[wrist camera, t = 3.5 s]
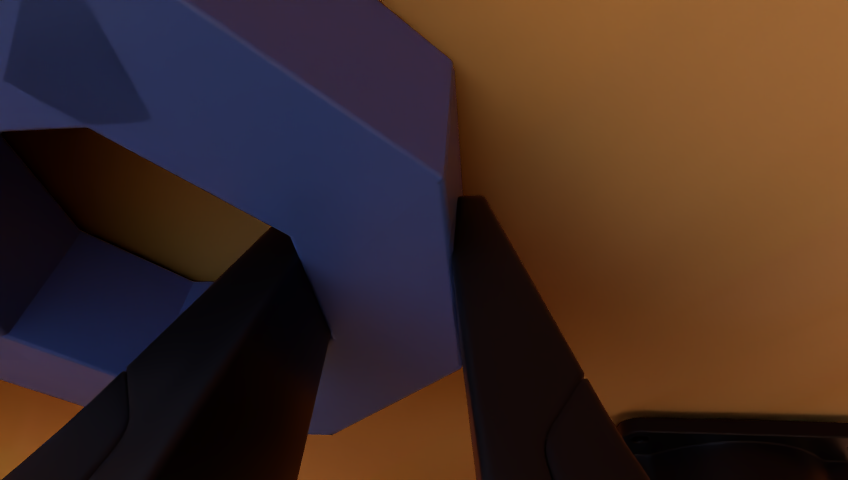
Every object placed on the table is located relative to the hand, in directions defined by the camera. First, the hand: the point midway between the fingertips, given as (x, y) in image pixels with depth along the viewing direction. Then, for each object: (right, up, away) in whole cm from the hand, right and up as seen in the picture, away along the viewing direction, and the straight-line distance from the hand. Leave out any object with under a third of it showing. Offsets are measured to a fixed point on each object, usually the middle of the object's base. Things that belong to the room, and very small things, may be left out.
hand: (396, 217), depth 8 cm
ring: (-4, +1, +1) cm, 4 cm away
